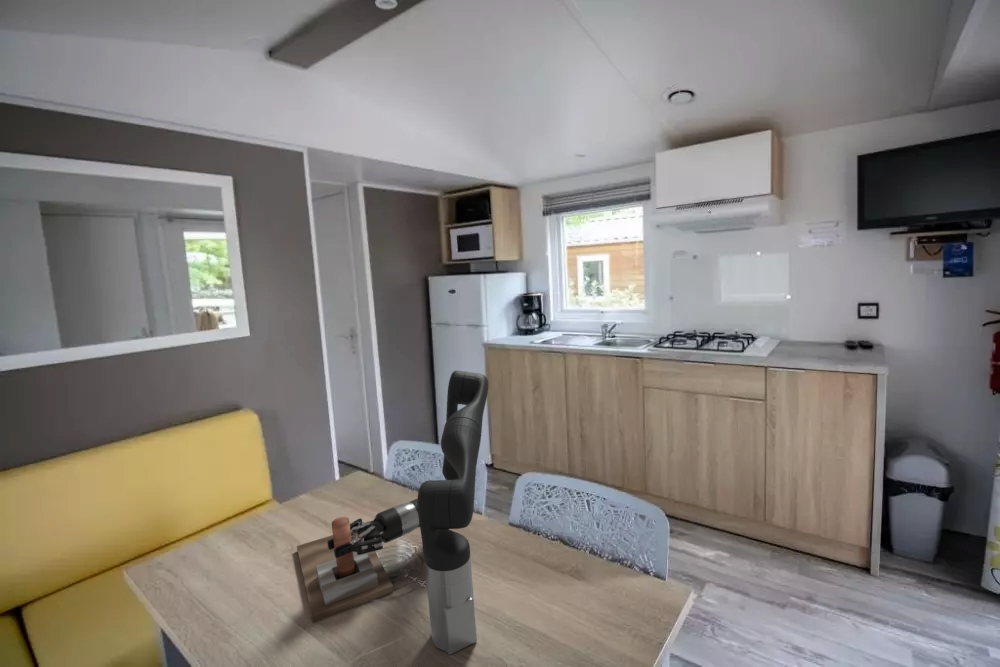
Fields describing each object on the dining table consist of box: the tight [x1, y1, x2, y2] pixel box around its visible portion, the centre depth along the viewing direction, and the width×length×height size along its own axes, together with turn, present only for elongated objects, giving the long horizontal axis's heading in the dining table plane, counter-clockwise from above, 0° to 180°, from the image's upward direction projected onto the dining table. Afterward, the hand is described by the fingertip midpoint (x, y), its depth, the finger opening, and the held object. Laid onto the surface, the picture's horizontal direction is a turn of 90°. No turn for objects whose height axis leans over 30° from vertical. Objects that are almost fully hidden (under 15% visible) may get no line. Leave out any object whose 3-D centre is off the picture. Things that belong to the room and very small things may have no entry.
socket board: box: [296, 532, 394, 623], centre depth 121 cm, size 32×18×4 cm, turn 29°
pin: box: [331, 516, 356, 579], centre depth 113 cm, size 4×4×14 cm
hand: (331, 549), depth 111 cm, fingers closed on pin, 4 cm apart
